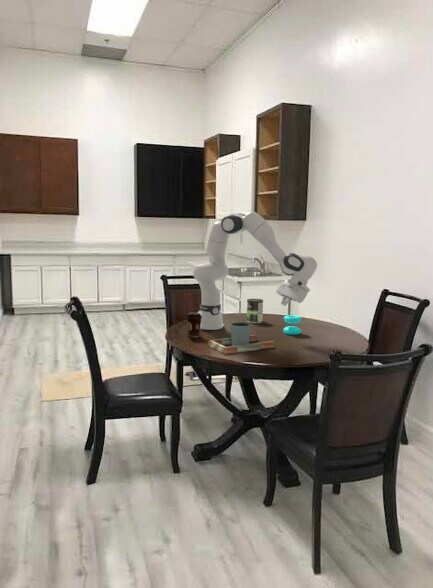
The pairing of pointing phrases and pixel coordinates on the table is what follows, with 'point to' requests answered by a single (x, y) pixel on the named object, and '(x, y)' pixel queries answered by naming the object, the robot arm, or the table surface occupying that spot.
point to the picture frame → (219, 344)
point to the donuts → (291, 329)
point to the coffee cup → (193, 324)
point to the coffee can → (254, 310)
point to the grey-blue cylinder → (240, 333)
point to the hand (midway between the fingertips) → (282, 304)
